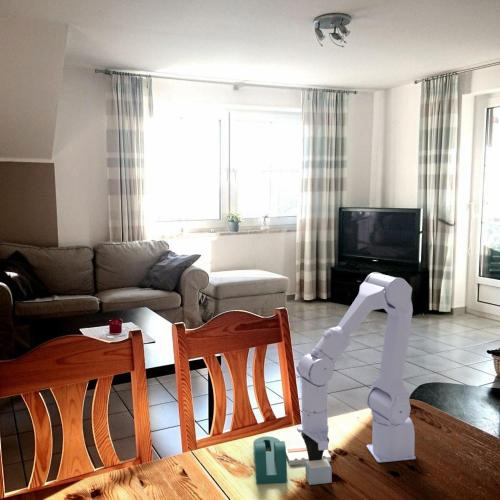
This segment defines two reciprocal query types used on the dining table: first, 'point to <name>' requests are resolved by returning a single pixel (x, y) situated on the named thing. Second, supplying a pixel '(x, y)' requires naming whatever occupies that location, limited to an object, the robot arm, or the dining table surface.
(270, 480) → the bracket
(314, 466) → the stub
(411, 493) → the dining table surface
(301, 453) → the spiral notebook
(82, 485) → the dining table surface
